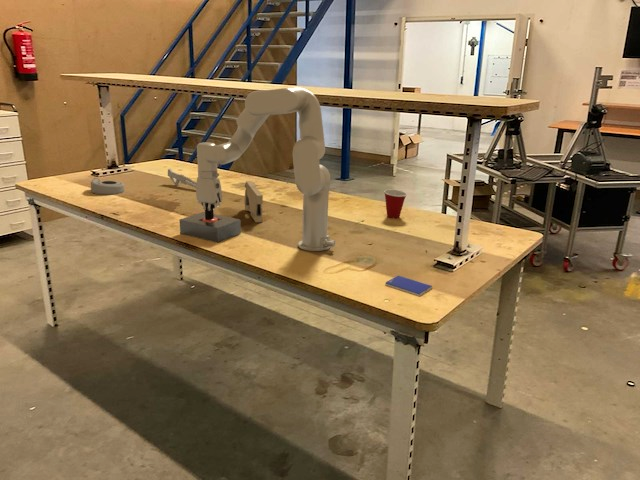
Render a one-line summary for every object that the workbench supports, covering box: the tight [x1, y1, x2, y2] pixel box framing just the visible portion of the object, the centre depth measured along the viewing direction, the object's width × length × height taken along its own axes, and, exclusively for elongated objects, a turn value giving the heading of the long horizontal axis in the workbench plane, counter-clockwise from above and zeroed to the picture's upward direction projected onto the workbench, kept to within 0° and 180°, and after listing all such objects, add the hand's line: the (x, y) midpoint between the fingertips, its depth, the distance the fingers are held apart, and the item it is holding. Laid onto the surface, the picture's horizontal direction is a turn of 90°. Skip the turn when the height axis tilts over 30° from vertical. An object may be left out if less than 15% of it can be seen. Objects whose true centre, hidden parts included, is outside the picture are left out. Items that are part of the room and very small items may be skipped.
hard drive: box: [385, 275, 433, 297], centre depth 165 cm, size 2×8×12 cm
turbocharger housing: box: [90, 177, 125, 196], centre depth 273 cm, size 17×6×15 cm
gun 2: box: [243, 180, 264, 223], centre depth 235 cm, size 24×3×15 cm, turn 21°
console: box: [179, 211, 242, 243], centre depth 210 cm, size 20×14×6 cm
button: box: [202, 217, 218, 223], centre depth 209 cm, size 6×6×3 cm
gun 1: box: [167, 168, 197, 188], centre depth 286 cm, size 2×30×8 cm, turn 53°
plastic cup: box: [383, 189, 408, 219], centre depth 240 cm, size 11×11×12 cm
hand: (209, 219), depth 209 cm, fingers closed
